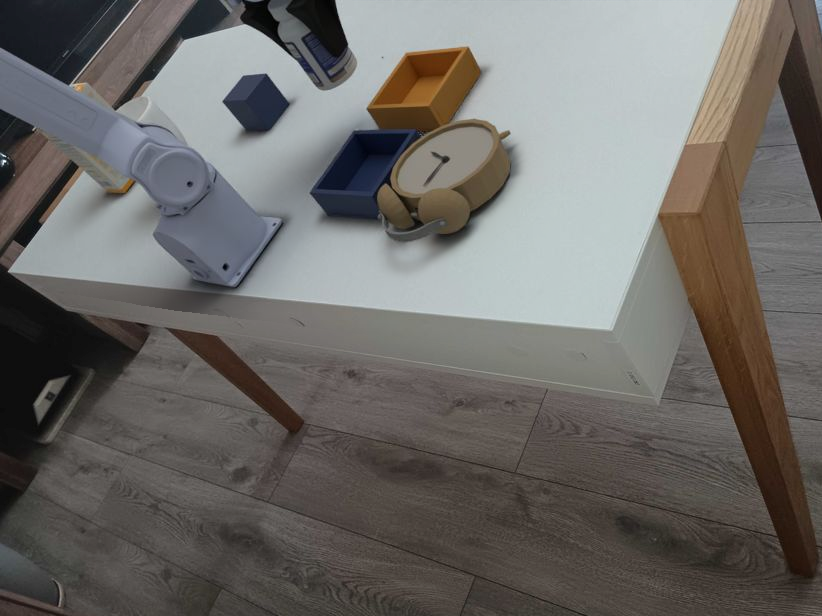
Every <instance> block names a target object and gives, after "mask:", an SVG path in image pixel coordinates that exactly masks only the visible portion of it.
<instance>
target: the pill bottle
mask: <svg viewBox="0 0 822 616" xmlns="http://www.w3.org/2000/svg"><path fill="white" fill-rule="evenodd" d="M291 1H292V0H271V1H270V2H269V4H268V9H269V11H270V12H271V14H272V16H273V17H274V19H276V20H277V21H280V23H279V26H278V34H279V36H280V38H281V40H282V41H283V42H284V44H285V45H286V46H287V48H288V49H289V51H290V52H291V53H292V55H293V56H294V57H295V59H296V60H297V61H296V60H295V59H294V60H295V61H296V62H297V63H298V65H299V66H300V67H301V68H302V70H303V71H304V73H305V74H306V75H307V77H308V78H309V80H310V81H311V83H312V84H313V85H314V86H315V88H316V89H318V90H319V91H331V90H333V89H336V88H337V87H339V86H341V85H342V84H344V83H345V82H347V81H348V80H349V79H350V78H351V77H352V76H353V74H354V72H355V71H356V69H357V66H358V60H357V57H356V56H355V53H353V51H352V50H351V48H350V47H349V45H348V46H347V48H346V49H345V50H344V52H343V53H342V54H341V56H340V57H337V58H335V57H333V56H332V55H331V54H330V53H329V52H328V51H327V50H326V48H325V47H324V46H323V45H322V43H321V42H320V41H319V39H318V38H317V37H316V36H315V35H314V33H313V32H312V31H311V30H310V29H309V28H308V27H307V26H306V25H305V24H303V23H302V22H301V21H300V20H298V19H297V18H296V17H294V16H293V15H291V14H289V13H288V12H287V11H286V7H287V6H288V5H289V4H290V3H291Z"/></svg>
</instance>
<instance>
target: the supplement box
mask: <svg viewBox="0 0 822 616" xmlns="http://www.w3.org/2000/svg"><path fill="white" fill-rule="evenodd" d="M69 86H70V87H72V88H73V89H75V90H77V91H79V92H80V93H82V94H84V95H86V96H88V97H89V98H91V99H93V100H95V101H97V102H98V103H100V104H102V105H104V106H106V107H107V108H109V109H111V110H113V111H116V110H115V108H113V107H112V106H111V104H109V103H108V102H107V101H106V100H105V99H104V97H102V96H101V95H100V94H99V93H98V92H97V90H95V89H94V88H93V87H92V85H90V84H89V83H88V82H81V83H80V82H79V83H73V84H70V85H69ZM33 127H34V128H35V129H36V130H37V131H38V132H40V133H41V134H42V136H43V137H45V138H46V139H47V140H48V141H50V142H51V143H52V144H53V145H54V146H55V147H56V148H58V150H60V151H61V152H62V153H63V154H64V155H66V156H67V158H69V159H70V160H71V161H72V162H73V163H74V164H75V165H76V166H78V168H80V169H81V170H82V171H83V172H84V173H86V174H87V175H88V176H89V177H90V178H91V179H92V180H93V181H94V182H96V184H97V185H99V186H100V187H101V188H102V189H104V190H105V191H106V192H107V193H108V194H126V192H127V191H128V190H129V189H130V187H131V186H132V185H133V183H135V181H134V180H132V179H130V178H128V177H126V176H124V175H123V174H121V173H120V172H118V171H117V170H115V169H114V168H112V167H111V166H109V165H108V164H106V163H104V162H103V161H101V160H100V159H98V158H97V157H95V156H93V155H91V154H89V153H87V152H85V151H83V150H81V149H79V148H77V147H75V146H73V145H71V144H69V143H67V142H65V141H63V140H61V139H59V138H57V137H55V136H53V135H51V134H49V133H47V132H45V131H43V130H41V129H39V128H37V127H35V126H33Z"/></svg>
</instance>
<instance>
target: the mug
mask: <svg viewBox="0 0 822 616" xmlns="http://www.w3.org/2000/svg"><path fill="white" fill-rule="evenodd" d="M115 111H116V112H118V113H121V114H123V115H125V116H127V117H128V118H130V119H132V120H134V121H137V122H140V123H150V124H157V125H161V126H163V127H165V128H167V129H169V130H170V131H171V132H172V133H173V134H174V135H175V136H176V137H177V138H178V139H179V140H180V141H182V142H183V143H184V144H185V145H187V146H189V144H188V142H187V140H186V137H185V136H184V134H183V133H182V131H181V130H180V129H179V127H178V126H177V125H176V124H175V123H174V121H173V120H172V119H171V118H170V117H169V115H167V114H166V112H164V111H163V109H161V107H160V106H159V105H158V104H157V102H155V101H154V100H153V99H152V98H150V97H149V96H147V95H142V96H138V97H135V98H133V99H131V100H128V101H127V102H125V103H124V104H123V105H122V106H120V107H119V108H117V109H116V110H115Z"/></svg>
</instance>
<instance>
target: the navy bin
mask: <svg viewBox="0 0 822 616" xmlns="http://www.w3.org/2000/svg"><path fill="white" fill-rule="evenodd" d="M421 137H422V135H421V134H420V131H418V130H417V129H394V130H380V129H353V131H352V132H351V133H350V135H349V136H348V138H347V139H346V141H345V142H344V143H343V144H342V146H341V147H340V148H339V150H338V152H337V153H336V154H335V156H334V157H333V158H332V159H331V162H330V163H329V164H328V166H327V167H326V169H324V170H323V173H322V174H321V175H320V177H319V178H318V179H317V181H316V183H315V184H314V186H312V188H311V189H310V191H309V195H310V196H311V197H312V198H313V200H314V201H315V202H316V203H317V204H318V205H319V207H320V208H321V209H322V210H323V212H324V213H325V214H326V215H327V216H335V217H347V218H356V219H357V218H358V219H370V220H379V219H378V215H379V214H380V212H379V210H380V208H379V206H378V201H377V195H378V192H379V190H380V188H381V187H382V186H383V185H384V184H387V185H388V186H389V187H390V188H391V189H392V190H393V188H392V184H391V179H390V178H391V174H392V170H393V167H394V165H395V164H396V162H397V161H398V159H399V158H400V156H401V155H402V154H403V153H404V152H405V151H406V150H407V149H408V148H409V147H410V146H411V145H412V144H413V143H414V142H416V141H417V140H419V139H420V138H421ZM393 191H394V190H393ZM394 192H395V191H394ZM395 194H396V192H395ZM396 195H397V194H396ZM397 196H398V195H397ZM398 198H399V197H398ZM381 213H382V212H381ZM385 219H386V218H385ZM386 220H387V219H386Z"/></svg>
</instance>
